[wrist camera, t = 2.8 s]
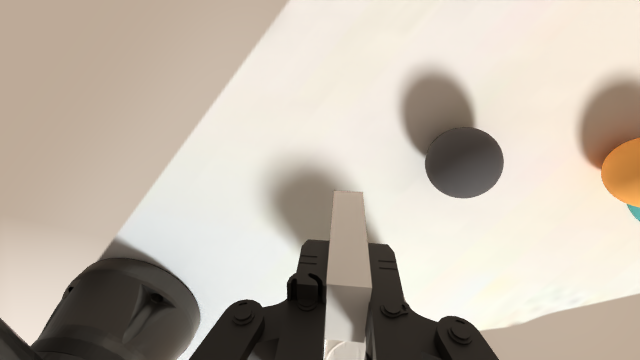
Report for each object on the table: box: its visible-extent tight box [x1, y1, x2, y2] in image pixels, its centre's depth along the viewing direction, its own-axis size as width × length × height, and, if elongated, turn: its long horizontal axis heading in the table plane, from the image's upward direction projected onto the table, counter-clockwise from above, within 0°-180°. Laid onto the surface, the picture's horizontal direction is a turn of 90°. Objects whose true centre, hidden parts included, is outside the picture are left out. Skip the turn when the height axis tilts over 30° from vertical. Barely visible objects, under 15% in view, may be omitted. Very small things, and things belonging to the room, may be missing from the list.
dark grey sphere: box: [425, 127, 504, 198], centre depth 23 cm, size 6×6×6 cm
